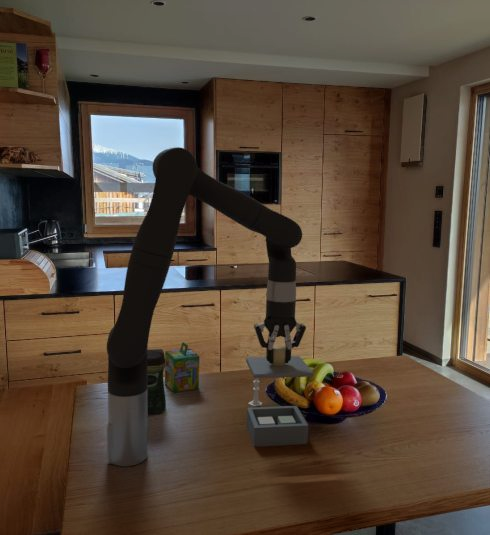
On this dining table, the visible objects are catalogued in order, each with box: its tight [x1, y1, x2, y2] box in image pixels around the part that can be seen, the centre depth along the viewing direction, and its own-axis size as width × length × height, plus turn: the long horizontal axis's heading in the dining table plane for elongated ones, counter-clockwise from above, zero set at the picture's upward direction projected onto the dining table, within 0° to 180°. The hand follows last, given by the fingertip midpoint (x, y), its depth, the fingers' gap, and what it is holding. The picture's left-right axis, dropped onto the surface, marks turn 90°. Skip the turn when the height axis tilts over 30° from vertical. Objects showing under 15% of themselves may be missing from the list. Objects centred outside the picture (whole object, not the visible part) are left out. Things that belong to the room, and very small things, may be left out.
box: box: [246, 405, 309, 447], centre depth 132 cm, size 14×12×6 cm
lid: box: [245, 345, 314, 379], centre depth 129 cm, size 15×13×6 cm
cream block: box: [257, 417, 275, 425], centre depth 131 cm, size 4×4×4 cm
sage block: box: [278, 416, 296, 425], centre depth 132 cm, size 4×4×4 cm
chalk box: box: [164, 341, 200, 394], centre depth 165 cm, size 9×9×15 cm
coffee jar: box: [147, 348, 167, 416], centre depth 145 cm, size 10×8×19 cm
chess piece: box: [248, 378, 263, 407], centre depth 151 cm, size 5×5×10 cm
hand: (278, 362), depth 129 cm, fingers closed on lid, 3 cm apart
